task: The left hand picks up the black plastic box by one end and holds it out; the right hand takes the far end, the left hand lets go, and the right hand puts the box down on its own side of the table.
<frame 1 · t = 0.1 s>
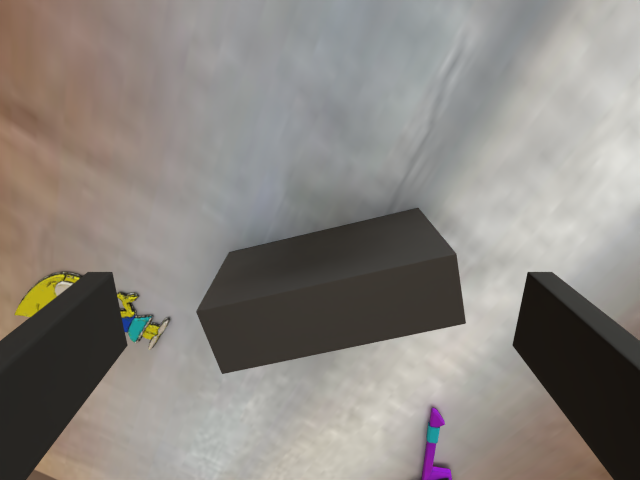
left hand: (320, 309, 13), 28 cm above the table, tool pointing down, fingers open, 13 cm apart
toy 2: (95, 312, 45), on the table
box: (328, 257, 42), on the table
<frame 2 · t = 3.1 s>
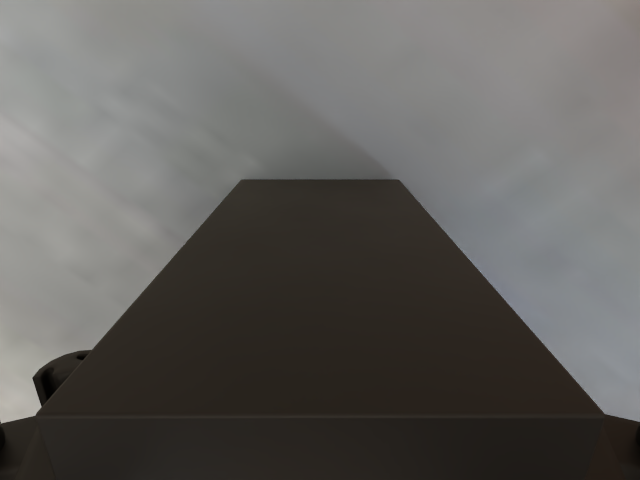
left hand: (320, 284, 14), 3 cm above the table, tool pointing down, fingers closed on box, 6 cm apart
box: (320, 387, 19), on the table, touching left hand
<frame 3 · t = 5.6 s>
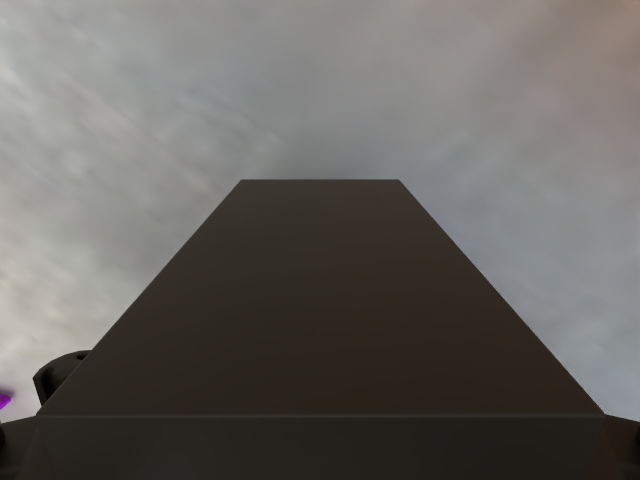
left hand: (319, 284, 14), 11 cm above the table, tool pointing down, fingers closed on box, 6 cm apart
box: (320, 387, 19), point 8 cm above the table, touching left hand
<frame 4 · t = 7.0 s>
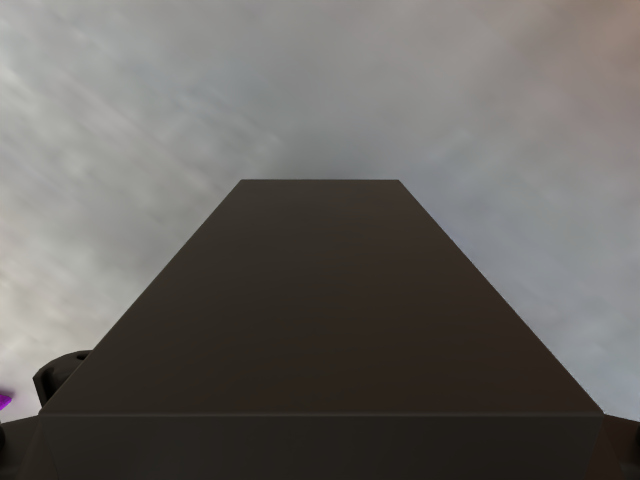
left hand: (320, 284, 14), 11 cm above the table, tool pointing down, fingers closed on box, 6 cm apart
box: (319, 387, 19), point 8 cm above the table, touching left hand, right hand
when the left hand's fingers open (11 cm above the table, at t = 8.0 s): box stays where it is, held by the right hand.
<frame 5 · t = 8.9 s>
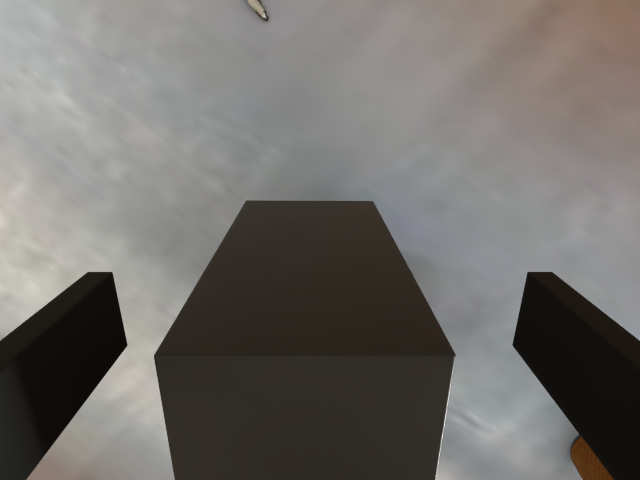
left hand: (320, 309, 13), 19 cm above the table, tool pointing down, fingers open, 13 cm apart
box: (309, 370, 23), point 11 cm above the table, touching right hand
disposable coffee cup: (600, 446, 41), on the table
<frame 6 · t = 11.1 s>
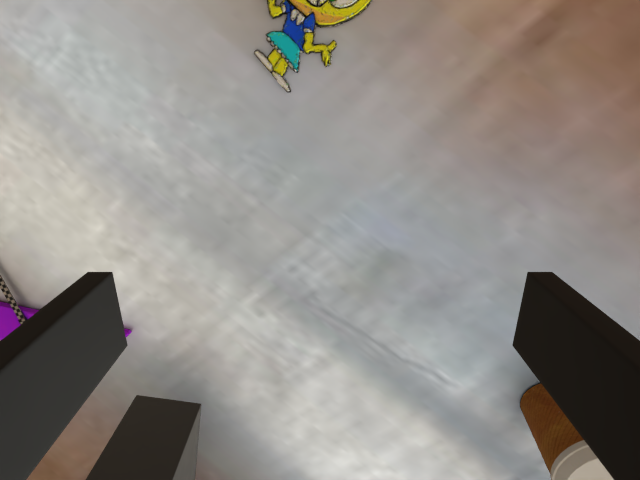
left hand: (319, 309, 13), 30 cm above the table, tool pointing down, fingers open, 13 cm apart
box: (165, 474, 42), point 11 cm above the table, touching right hand
disposable coffee cup: (543, 399, 52), on the table
musical instrument: (3, 286, 46), on the table
when the right hand's fingers open (8 cm above the table, at t = 12.9 s): box moves 1 cm, on the table.
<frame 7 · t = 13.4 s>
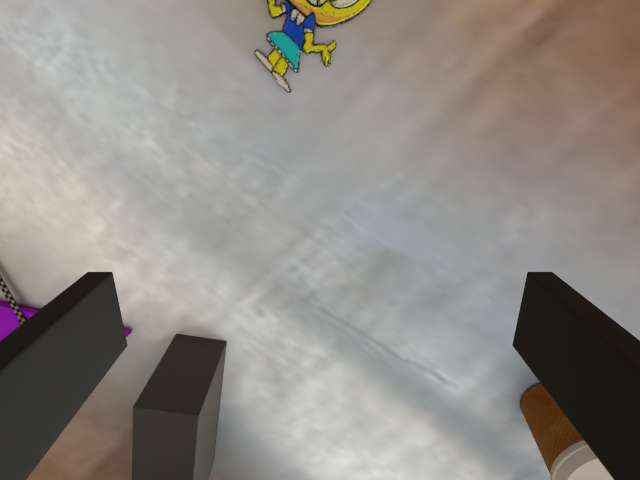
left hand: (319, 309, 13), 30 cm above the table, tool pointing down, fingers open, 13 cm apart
box: (196, 401, 52), on the table
disposable coffee cup: (543, 399, 52), on the table
musical instrument: (3, 286, 46), on the table
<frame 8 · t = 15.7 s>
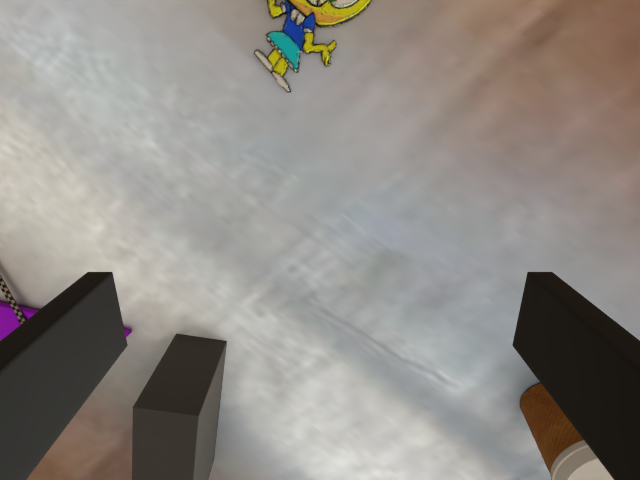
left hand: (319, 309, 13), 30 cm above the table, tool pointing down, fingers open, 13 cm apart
box: (196, 401, 52), on the table
disposable coffee cup: (543, 399, 52), on the table
musical instrument: (3, 286, 46), on the table
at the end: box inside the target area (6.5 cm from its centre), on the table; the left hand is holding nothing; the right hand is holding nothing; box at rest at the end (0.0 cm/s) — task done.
